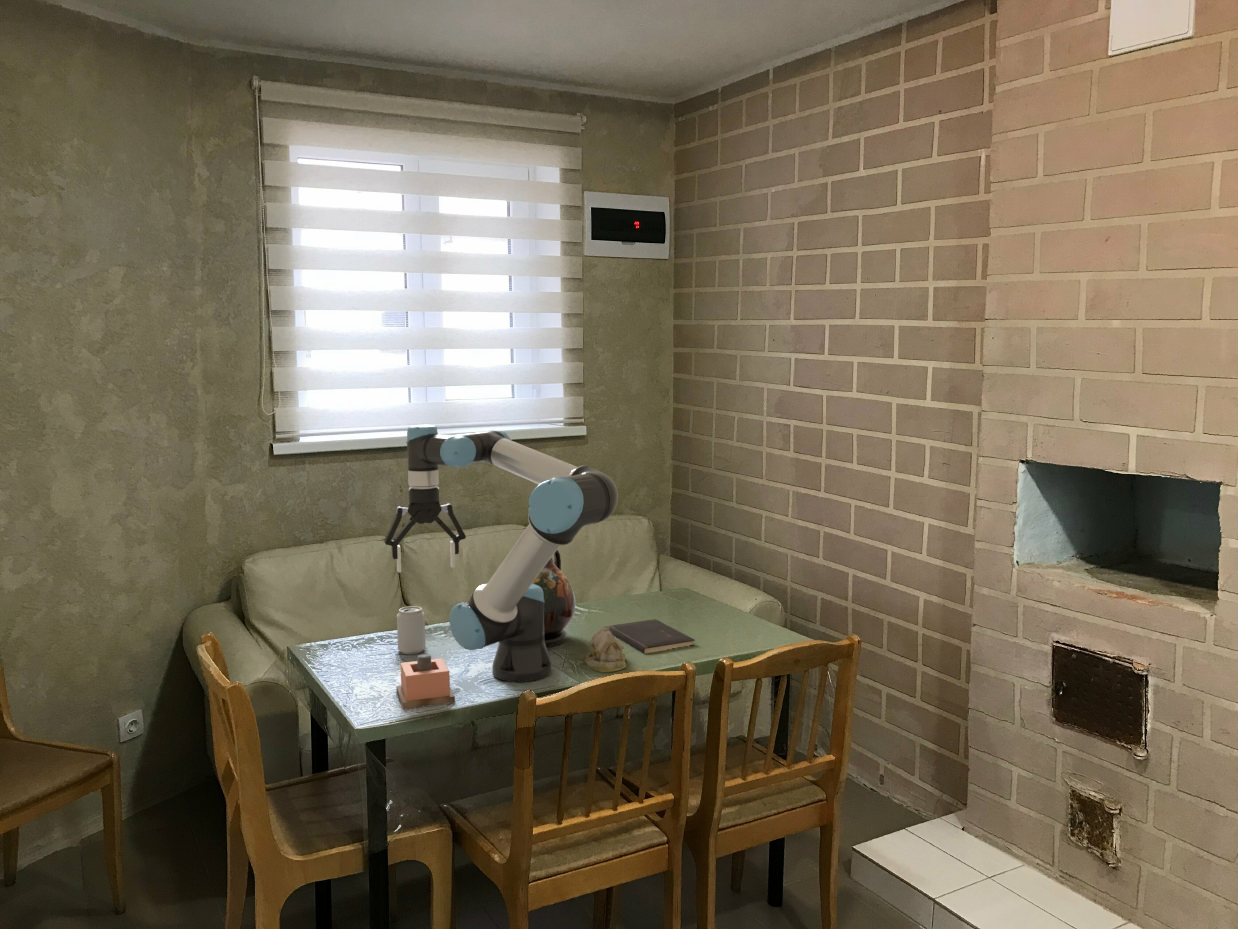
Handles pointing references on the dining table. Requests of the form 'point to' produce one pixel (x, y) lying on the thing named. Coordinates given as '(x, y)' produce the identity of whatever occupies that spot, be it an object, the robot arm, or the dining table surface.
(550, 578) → the amphora vase
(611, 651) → the ceramic model
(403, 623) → the can
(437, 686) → the collar
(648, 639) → the hardcover book
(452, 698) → the post stand
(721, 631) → the dining table surface
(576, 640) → the dining table surface
